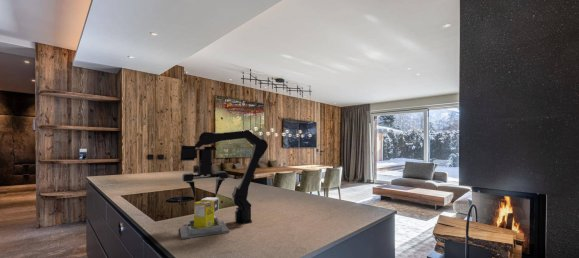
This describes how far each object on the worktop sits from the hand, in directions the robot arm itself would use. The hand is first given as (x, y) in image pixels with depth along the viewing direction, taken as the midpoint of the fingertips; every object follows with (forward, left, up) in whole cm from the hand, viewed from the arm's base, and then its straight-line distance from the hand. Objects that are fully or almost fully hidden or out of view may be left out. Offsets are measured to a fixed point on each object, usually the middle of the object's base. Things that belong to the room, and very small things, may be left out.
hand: (205, 195), depth 116 cm
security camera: (-3, -8, -13) cm, 16 cm away
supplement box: (+1, +6, -12) cm, 14 cm away
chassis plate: (+1, +7, -13) cm, 15 cm away
